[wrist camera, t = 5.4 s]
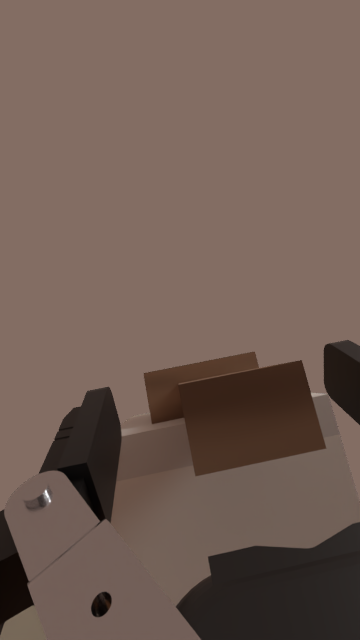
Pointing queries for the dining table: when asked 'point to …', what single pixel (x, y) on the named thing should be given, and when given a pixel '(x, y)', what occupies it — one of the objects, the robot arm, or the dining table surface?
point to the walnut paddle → (237, 410)
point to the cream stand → (224, 500)
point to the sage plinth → (23, 626)
